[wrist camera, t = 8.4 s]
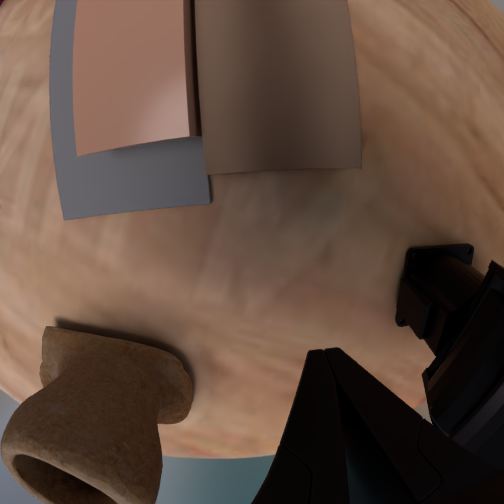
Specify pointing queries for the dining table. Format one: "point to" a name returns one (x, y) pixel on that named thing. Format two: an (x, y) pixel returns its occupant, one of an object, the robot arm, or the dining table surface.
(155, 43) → the salmon pink block
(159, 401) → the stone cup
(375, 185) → the dining table surface
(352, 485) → the robot arm
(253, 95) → the ledge
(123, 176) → the mat
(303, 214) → the dining table surface
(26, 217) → the dining table surface
